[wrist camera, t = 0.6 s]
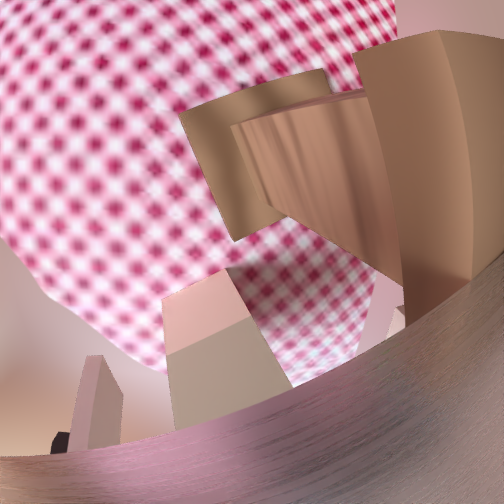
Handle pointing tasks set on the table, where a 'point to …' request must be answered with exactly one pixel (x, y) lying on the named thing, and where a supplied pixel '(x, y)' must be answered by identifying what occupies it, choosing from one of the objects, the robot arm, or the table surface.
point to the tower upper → (223, 374)
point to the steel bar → (325, 431)
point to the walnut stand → (373, 160)
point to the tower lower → (201, 311)
